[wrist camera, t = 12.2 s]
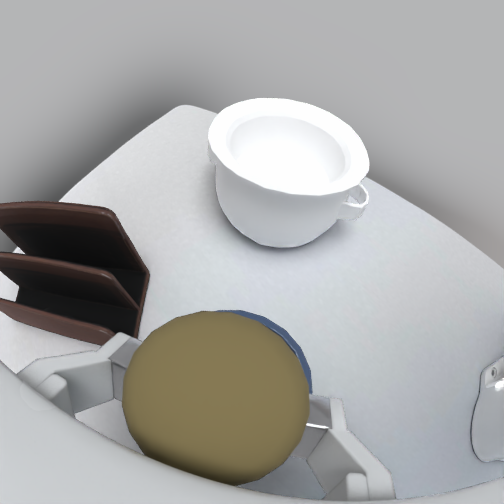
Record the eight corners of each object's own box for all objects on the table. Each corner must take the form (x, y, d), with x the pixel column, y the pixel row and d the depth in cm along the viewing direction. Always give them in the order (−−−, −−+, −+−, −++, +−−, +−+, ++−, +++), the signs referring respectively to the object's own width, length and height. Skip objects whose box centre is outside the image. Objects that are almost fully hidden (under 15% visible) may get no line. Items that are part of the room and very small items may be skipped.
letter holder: (34, 258, 33) (-18, 197, 20) (151, 273, 33) (114, 195, 21) (14, 321, 28) (-53, 274, 15) (136, 353, 28) (74, 312, 16)
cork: (158, 376, 15) (62, 327, 6) (247, 338, 17) (267, 243, 8) (201, 462, 13) (156, 541, 3) (293, 421, 15) (383, 439, 5)
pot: (174, 214, 38) (159, 143, 27) (240, 145, 46) (243, 82, 35) (323, 292, 33) (363, 236, 23) (362, 201, 41) (393, 141, 31)
